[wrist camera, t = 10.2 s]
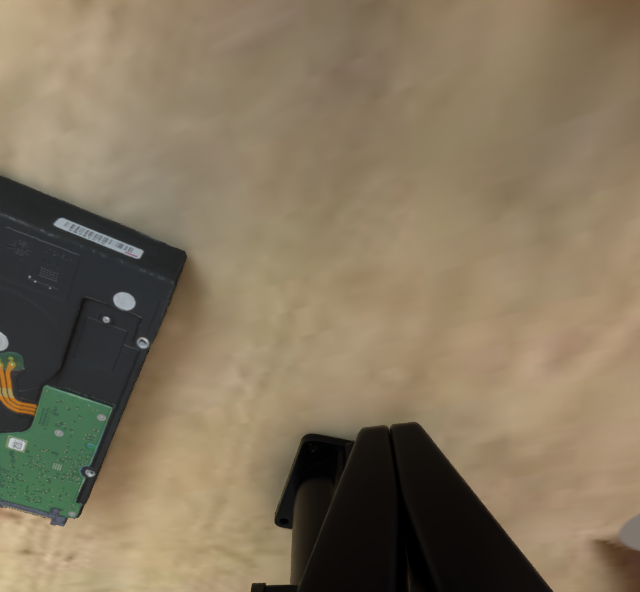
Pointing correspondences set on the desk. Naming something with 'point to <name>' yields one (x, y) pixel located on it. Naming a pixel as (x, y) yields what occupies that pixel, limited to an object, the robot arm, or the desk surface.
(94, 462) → the disk drive
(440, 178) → the desk surface
